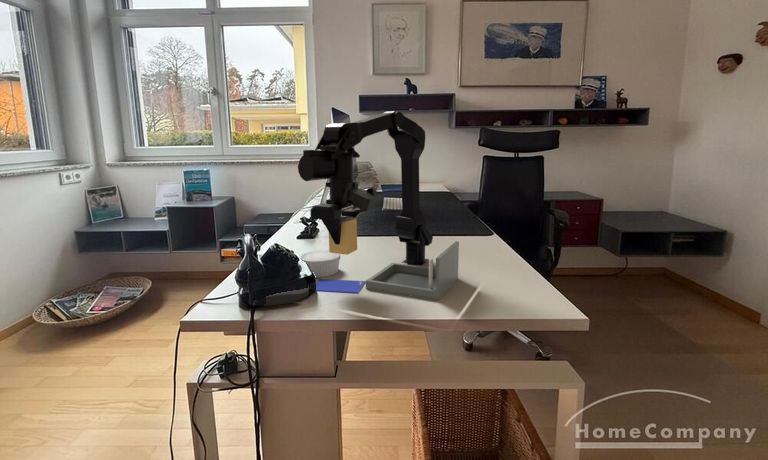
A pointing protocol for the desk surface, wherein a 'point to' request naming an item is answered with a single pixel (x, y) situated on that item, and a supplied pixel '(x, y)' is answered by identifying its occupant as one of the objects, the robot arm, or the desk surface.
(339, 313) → the desk surface
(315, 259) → the ramekin
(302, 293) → the media streaming box
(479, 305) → the desk surface
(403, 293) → the case
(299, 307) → the desk surface
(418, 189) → the robot arm
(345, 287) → the hard drive
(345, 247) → the block
